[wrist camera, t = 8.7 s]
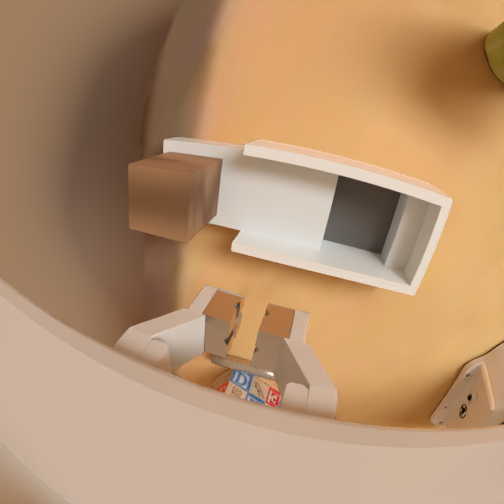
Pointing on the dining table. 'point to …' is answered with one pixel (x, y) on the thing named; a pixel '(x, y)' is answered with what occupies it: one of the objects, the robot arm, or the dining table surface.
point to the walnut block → (173, 194)
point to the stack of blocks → (246, 388)
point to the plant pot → (496, 51)
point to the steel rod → (242, 366)
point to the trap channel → (325, 211)
